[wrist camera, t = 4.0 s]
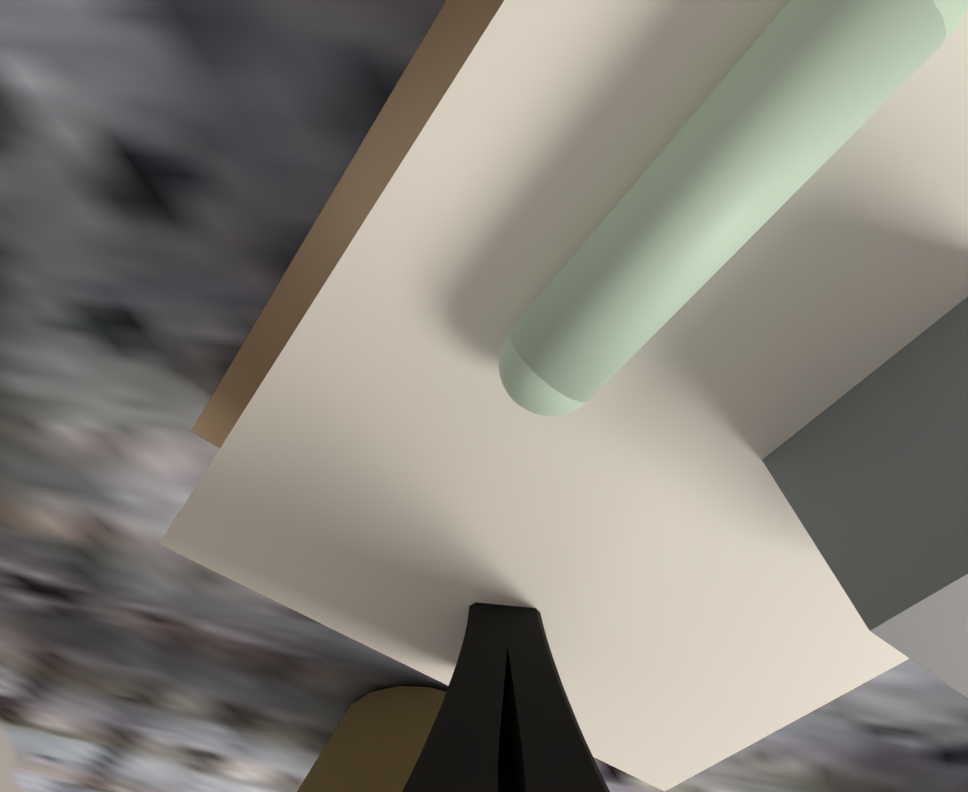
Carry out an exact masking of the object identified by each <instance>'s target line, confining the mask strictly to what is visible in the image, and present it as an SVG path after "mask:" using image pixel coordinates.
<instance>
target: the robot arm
mask: <svg viewBox="0 0 968 792" xmlns="http://www.w3.org/2000/svg"><path fill="white" fill-rule="evenodd" d="M402 792H610V791H609V789H608V787H607V785H606V783H605V781H604V779H603V777H602V775H601V773H600V771H599V769H598V766H597V764H596V762H595V760H594V758H593V756H592V754H591V751H590V749H589V747H588V745H587V743H586V740H585V738H584V736H583V734H582V731H581V729H580V727H579V724H578V722H577V720H576V717H575V715H574V712H573V710H572V707H571V705H570V702H569V700H568V697H567V695H566V692H565V690H564V687H563V684H562V682H561V679H560V676H559V674H558V671H557V668H556V665H555V662H554V659H553V656H552V653H551V650H550V647H549V644H548V640H547V637H546V633H545V630H544V626H543V622H542V618H541V613H540V612H539V611H538V610H537V609H536V608H530V607H519V606H508V605H498V604H488V603H478V602H475V603H473V604H472V605H470V606H469V613H468V621H467V626H466V631H465V636H464V639H463V643H462V647H461V650H460V654H459V657H458V660H457V663H456V667H455V669H454V672H453V675H452V678H451V680H450V683H449V686H448V689H447V692H446V694H445V697H444V700H443V702H442V705H441V707H440V710H439V712H438V715H437V717H436V719H435V722H434V724H433V726H432V728H431V731H430V733H429V735H428V738H427V740H426V742H425V745H424V747H423V749H422V751H421V754H420V756H419V758H418V760H417V762H416V764H415V766H414V768H413V771H412V773H411V775H410V777H409V779H408V781H407V783H406V785H405V787H404V789H403V791H402Z"/></svg>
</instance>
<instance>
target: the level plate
mask: <svg viewBox="0 0 968 792" xmlns="http://www.w3.org/2000/svg"><path fill="white" fill-rule="evenodd" d="M159 545H161V546H163V547H166V548H168V549H170V550H172V551H174V552H176V553H178V554H180V555H182V556H184V557H186V558H188V559H190V560H192V561H194V562H196V563H198V564H200V565H202V566H204V567H206V568H208V569H211V570H213V571H215V572H217V573H219V574H221V575H223V576H225V577H227V578H229V579H231V580H233V581H235V582H237V583H239V584H241V585H243V586H245V587H247V588H249V589H251V590H253V591H256V592H258V593H260V594H262V595H264V596H266V597H268V598H270V599H272V600H274V601H276V602H278V603H280V604H282V605H284V606H286V607H288V608H290V609H292V610H294V611H296V612H298V613H301V614H303V615H305V616H307V617H309V618H311V619H313V620H315V621H317V622H319V623H321V624H323V625H325V626H327V627H329V628H331V629H333V630H335V631H337V632H339V633H341V634H343V635H346V636H348V637H350V638H352V639H354V640H356V641H358V642H360V643H362V644H364V645H366V646H368V647H370V648H372V649H374V650H376V651H378V652H380V653H382V654H384V655H386V656H388V657H391V658H393V659H395V660H397V661H399V662H401V663H403V664H405V665H407V666H409V667H411V668H413V669H415V670H417V671H419V672H421V673H423V674H425V675H427V676H429V677H431V678H433V679H436V680H438V681H440V682H442V683H444V684H446V685H448V686H449V683H450V680H451V678H452V675H453V672H454V669H455V667H456V663H457V660H458V657H459V654H460V650H461V647H462V643H463V639H464V636H465V631H466V626H467V621H468V613H469V606H470V605H472V604H473V603H475V602H478V603H488V604H498V605H508V606H519V607H530V608H536V609H537V610H538V611H539V612H540V613H541V618H542V622H543V626H544V630H545V633H546V637H547V640H548V644H549V647H550V650H551V653H552V656H553V659H554V662H555V665H556V668H557V671H558V674H559V676H560V679H561V682H562V684H563V687H564V690H565V692H566V695H567V697H568V700H569V702H570V705H571V707H572V710H573V712H574V715H575V717H576V720H577V722H578V724H579V727H580V729H581V731H582V734H583V736H584V738H585V740H586V743H587V745H588V747H589V749H590V751H591V754H592V756H593V757H595V758H597V759H599V760H601V761H603V762H605V763H607V764H609V765H611V766H613V767H616V768H618V769H620V770H622V771H624V772H626V773H628V774H630V775H632V776H634V777H636V778H638V779H640V780H642V781H644V782H646V783H648V784H650V785H652V786H654V787H656V788H658V789H661V790H663V791H666V790H668V789H670V788H672V787H674V786H676V785H677V784H679V783H681V782H683V781H685V780H687V779H688V778H690V777H692V776H694V775H696V774H698V773H700V772H701V771H703V770H705V769H707V768H709V767H711V766H712V765H714V764H716V763H718V762H720V761H722V760H723V759H725V758H727V757H729V756H731V755H733V754H734V753H736V752H738V751H740V750H742V749H744V748H746V747H747V746H749V745H751V744H753V743H755V742H757V741H758V740H760V739H762V738H764V737H766V736H768V735H769V734H771V733H773V732H775V731H777V730H779V729H780V728H782V727H784V726H786V725H788V724H790V723H792V722H793V721H795V720H797V719H799V718H801V717H803V716H804V715H806V714H808V713H810V712H812V711H814V710H815V709H817V708H819V707H821V706H823V705H825V704H826V703H828V702H830V701H832V700H834V699H836V698H838V697H839V696H841V695H843V694H845V693H847V692H849V691H850V690H852V689H854V688H856V687H858V686H860V685H861V684H863V683H865V682H867V681H869V680H871V679H873V678H874V677H876V676H878V675H880V674H882V673H884V672H885V671H887V670H889V669H891V668H893V667H895V666H896V665H898V664H900V663H902V662H904V661H906V660H907V659H909V658H910V659H911V660H913V661H914V662H916V663H917V664H919V665H920V666H921V667H923V668H924V669H926V670H927V671H929V672H930V673H932V674H933V675H935V676H936V677H938V678H939V679H940V680H942V681H943V682H945V683H946V684H948V685H949V686H951V687H952V688H954V689H955V690H956V691H958V692H959V693H961V694H962V695H964V696H965V697H967V698H968V0H504V2H503V3H502V5H501V6H500V8H499V9H498V11H497V13H496V14H495V16H494V17H493V19H492V20H491V22H490V24H489V25H488V27H487V28H486V30H485V31H484V33H483V35H482V36H481V38H480V39H479V41H478V43H477V44H476V46H475V47H474V49H473V50H472V52H471V54H470V55H469V57H468V58H467V60H466V61H465V63H464V65H463V66H462V68H461V69H460V71H459V72H458V74H457V76H456V77H455V79H454V80H453V82H452V84H451V85H450V87H449V88H448V90H447V91H446V93H445V95H444V96H443V98H442V99H441V101H440V102H439V104H438V106H437V107H436V109H435V110H434V112H433V113H432V115H431V117H430V118H429V120H428V121H427V123H426V124H425V126H424V128H423V129H422V131H421V132H420V134H419V136H418V137H417V139H416V140H415V142H414V143H413V145H412V147H411V148H410V150H409V151H408V153H407V154H406V156H405V158H404V159H403V161H402V162H401V164H400V165H399V167H398V169H397V170H396V172H395V173H394V175H393V177H392V178H391V180H390V181H389V183H388V184H387V186H386V188H385V189H384V191H383V192H382V194H381V195H380V197H379V199H378V200H377V202H376V203H375V205H374V206H373V208H372V210H371V211H370V213H369V214H368V216H367V218H366V219H365V221H364V222H363V224H362V225H361V227H360V229H359V230H358V232H357V233H356V235H355V236H354V238H353V240H352V241H351V243H350V244H349V246H348V247H347V249H346V251H345V252H344V254H343V255H342V257H341V258H340V260H339V262H338V263H337V265H336V266H335V268H334V270H333V271H332V273H331V274H330V276H329V277H328V279H327V281H326V282H325V284H324V285H323V287H322V288H321V290H320V292H319V293H318V295H317V296H316V298H315V299H314V301H313V303H312V304H311V306H310V307H309V309H308V311H307V312H306V314H305V315H304V317H303V318H302V320H301V322H300V323H299V325H298V326H297V328H296V329H295V331H294V333H293V334H292V336H291V337H290V339H289V340H288V342H287V344H286V345H285V347H284V348H283V350H282V352H281V353H280V355H279V356H278V358H277V359H276V361H275V363H274V364H273V366H272V367H271V369H270V370H269V372H268V374H267V375H266V377H265V378H264V380H263V381H262V383H261V385H260V386H259V388H258V389H257V391H256V392H255V394H254V396H253V397H252V399H251V400H250V402H249V404H248V405H247V407H246V408H245V410H244V411H243V413H242V415H241V416H240V418H239V419H238V421H237V422H236V424H235V426H234V427H233V429H232V430H231V432H230V433H229V435H228V437H227V438H226V440H225V441H224V443H223V445H222V446H221V448H220V449H219V451H218V452H217V454H216V456H215V457H214V459H213V460H212V462H211V463H210V465H209V467H208V468H207V470H206V471H205V473H204V474H203V476H202V478H201V479H200V481H199V482H198V484H197V486H196V487H195V489H194V490H193V492H192V493H191V495H190V497H189V498H188V500H187V501H186V503H185V504H184V506H183V508H182V509H181V511H180V512H179V514H178V515H177V517H176V519H175V520H174V522H173V523H172V525H171V526H170V528H169V530H168V531H167V533H166V534H165V536H164V538H163V539H162V541H161V542H160V544H159Z"/></svg>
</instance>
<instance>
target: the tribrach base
mask: <svg viewBox="0 0 968 792" xmlns="http://www.w3.org/2000/svg"><path fill="white" fill-rule="evenodd" d="M503 2H504V0H446V2H445V3H444V5H443V7H442V8H441V10H440V12H439V13H438V15H437V17H436V18H435V20H434V22H433V24H432V25H431V27H430V29H429V30H428V32H427V34H426V35H425V37H424V39H423V40H422V42H421V44H420V45H419V47H418V49H417V51H416V52H415V54H414V56H413V57H412V59H411V61H410V62H409V64H408V66H407V67H406V69H405V71H404V73H403V74H402V76H401V78H400V79H399V81H398V83H397V84H396V86H395V88H394V89H393V91H392V93H391V94H390V96H389V98H388V100H387V101H386V103H385V105H384V106H383V108H382V110H381V111H380V113H379V115H378V116H377V118H376V120H375V121H374V123H373V125H372V127H371V128H370V130H369V132H368V133H367V135H366V137H365V138H364V140H363V142H362V143H361V145H360V147H359V149H358V150H357V152H356V154H355V155H354V157H353V159H352V160H351V162H350V164H349V165H348V167H347V169H346V170H345V172H344V174H343V176H342V177H341V179H340V181H339V182H338V184H337V186H336V187H335V189H334V191H333V192H332V194H331V196H330V198H329V199H328V201H327V203H326V204H325V206H324V208H323V209H322V211H321V213H320V214H319V216H318V218H317V219H316V221H315V223H314V225H313V226H312V228H311V230H310V231H309V233H308V235H307V236H306V238H305V240H304V241H303V243H302V245H301V247H300V248H299V250H298V252H297V253H296V255H295V257H294V258H293V260H292V262H291V263H290V265H289V267H288V268H287V270H286V272H285V274H284V275H283V277H282V279H281V280H280V282H279V284H278V285H277V287H276V289H275V290H274V292H273V294H272V295H271V297H270V299H269V301H268V302H267V304H266V306H265V307H264V309H263V311H262V312H261V314H260V316H259V317H258V319H257V321H256V323H255V324H254V326H253V328H252V329H251V331H250V333H249V334H248V336H247V338H246V339H245V341H244V343H243V344H242V346H241V348H240V350H239V351H238V353H237V355H236V356H235V358H234V360H233V361H232V363H231V365H230V366H229V368H228V370H227V372H226V373H225V375H224V377H223V378H222V380H221V382H220V383H219V385H218V387H217V388H216V390H215V392H214V393H213V395H212V397H211V399H210V400H209V402H208V404H207V405H206V407H205V409H204V410H203V412H202V414H201V415H200V417H199V419H198V420H197V422H196V424H195V426H194V427H193V429H192V431H191V432H192V433H194V434H196V435H198V436H200V437H201V438H203V439H205V440H207V441H209V442H211V443H212V444H214V445H216V446H218V447H220V448H221V446H222V445H223V443H224V441H225V440H226V438H227V437H228V435H229V433H230V432H231V430H232V429H233V427H234V426H235V424H236V422H237V421H238V419H239V418H240V416H241V415H242V413H243V411H244V410H245V408H246V407H247V405H248V404H249V402H250V400H251V399H252V397H253V396H254V394H255V392H256V391H257V389H258V388H259V386H260V385H261V383H262V381H263V380H264V378H265V377H266V375H267V374H268V372H269V370H270V369H271V367H272V366H273V364H274V363H275V361H276V359H277V358H278V356H279V355H280V353H281V352H282V350H283V348H284V347H285V345H286V344H287V342H288V340H289V339H290V337H291V336H292V334H293V333H294V331H295V329H296V328H297V326H298V325H299V323H300V322H301V320H302V318H303V317H304V315H305V314H306V312H307V311H308V309H309V307H310V306H311V304H312V303H313V301H314V299H315V298H316V296H317V295H318V293H319V292H320V290H321V288H322V287H323V285H324V284H325V282H326V281H327V279H328V277H329V276H330V274H331V273H332V271H333V270H334V268H335V266H336V265H337V263H338V262H339V260H340V258H341V257H342V255H343V254H344V252H345V251H346V249H347V247H348V246H349V244H350V243H351V241H352V240H353V238H354V236H355V235H356V233H357V232H358V230H359V229H360V227H361V225H362V224H363V222H364V221H365V219H366V218H367V216H368V214H369V213H370V211H371V210H372V208H373V206H374V205H375V203H376V202H377V200H378V199H379V197H380V195H381V194H382V192H383V191H384V189H385V188H386V186H387V184H388V183H389V181H390V180H391V178H392V177H393V175H394V173H395V172H396V170H397V169H398V167H399V165H400V164H401V162H402V161H403V159H404V158H405V156H406V154H407V153H408V151H409V150H410V148H411V147H412V145H413V143H414V142H415V140H416V139H417V137H418V136H419V134H420V132H421V131H422V129H423V128H424V126H425V124H426V123H427V121H428V120H429V118H430V117H431V115H432V113H433V112H434V110H435V109H436V107H437V106H438V104H439V102H440V101H441V99H442V98H443V96H444V95H445V93H446V91H447V90H448V88H449V87H450V85H451V84H452V82H453V80H454V79H455V77H456V76H457V74H458V72H459V71H460V69H461V68H462V66H463V65H464V63H465V61H466V60H467V58H468V57H469V55H470V54H471V52H472V50H473V49H474V47H475V46H476V44H477V43H478V41H479V39H480V38H481V36H482V35H483V33H484V31H485V30H486V28H487V27H488V25H489V24H490V22H491V20H492V19H493V17H494V16H495V14H496V13H497V11H498V9H499V8H500V6H501V5H502V3H503Z"/></svg>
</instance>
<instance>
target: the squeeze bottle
mask: <svg viewBox="0 0 968 792" xmlns="http://www.w3.org/2000/svg"><path fill="white" fill-rule="evenodd" d="M445 694H446V692H444V691H441V690H438V689H434V688H431V687H412V686H396V687H392V688H387V689H382V690H378V691H373V692H370V693H369V694H367V695H365V696H364V697H362V698H360V699H359V700H357V701H356V702H354V703H352V704H351V705H350V707H349V709H348V710H347V712H346V713H345V715H344V717H343V718H342V720H341V721H340V723H339V725H338V726H337V728H336V730H335V731H334V733H333V734H332V736H331V738H330V739H329V741H328V743H327V744H326V746H325V747H324V749H323V751H322V752H321V754H320V756H319V757H318V759H317V760H316V762H315V764H314V765H313V767H312V769H311V770H310V772H309V773H308V775H307V777H306V778H305V780H304V781H303V783H302V785H301V786H300V788H299V790H298V791H297V792H402V791H403V789H404V787H405V785H406V783H407V781H408V779H409V777H410V775H411V773H412V771H413V768H414V766H415V764H416V762H417V760H418V758H419V756H420V754H421V751H422V749H423V747H424V745H425V742H426V740H427V738H428V735H429V733H430V731H431V728H432V726H433V724H434V722H435V719H436V717H437V715H438V712H439V710H440V707H441V705H442V702H443V700H444V697H445Z"/></svg>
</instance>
